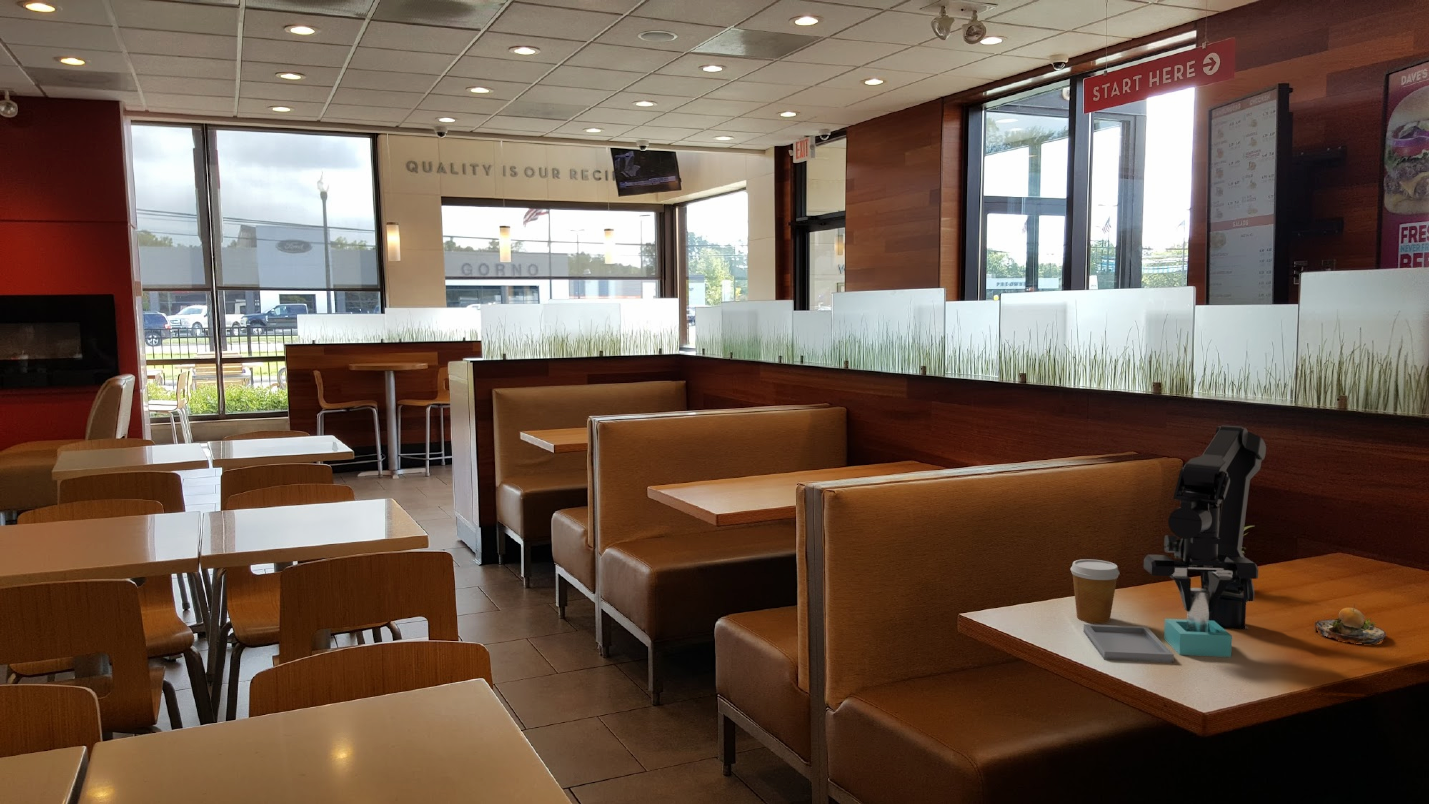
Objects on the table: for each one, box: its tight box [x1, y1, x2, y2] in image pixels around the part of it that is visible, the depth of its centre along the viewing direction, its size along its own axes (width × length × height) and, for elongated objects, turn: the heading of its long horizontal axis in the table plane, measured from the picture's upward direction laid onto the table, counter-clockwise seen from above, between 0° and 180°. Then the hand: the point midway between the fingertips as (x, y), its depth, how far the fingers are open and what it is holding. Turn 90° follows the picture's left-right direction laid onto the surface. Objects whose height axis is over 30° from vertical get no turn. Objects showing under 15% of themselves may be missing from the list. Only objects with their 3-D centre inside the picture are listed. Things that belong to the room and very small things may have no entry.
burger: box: [1314, 603, 1387, 645], centre depth 192 cm, size 12×12×8 cm
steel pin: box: [1186, 587, 1210, 632], centre depth 183 cm, size 4×4×10 cm
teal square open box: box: [1163, 618, 1233, 658], centre depth 184 cm, size 9×9×4 cm
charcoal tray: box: [1083, 623, 1175, 664], centre depth 185 cm, size 12×16×2 cm
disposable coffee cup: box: [1070, 558, 1120, 625], centre depth 201 cm, size 10×10×12 cm
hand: (1198, 611), depth 183 cm, fingers closed on steel pin, 4 cm apart
